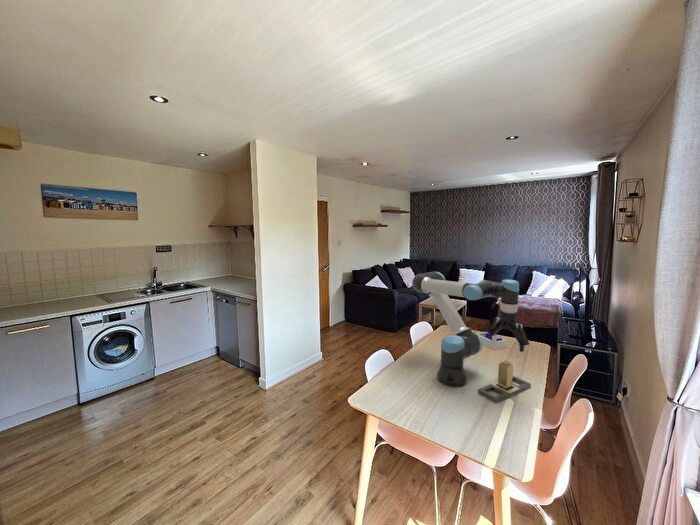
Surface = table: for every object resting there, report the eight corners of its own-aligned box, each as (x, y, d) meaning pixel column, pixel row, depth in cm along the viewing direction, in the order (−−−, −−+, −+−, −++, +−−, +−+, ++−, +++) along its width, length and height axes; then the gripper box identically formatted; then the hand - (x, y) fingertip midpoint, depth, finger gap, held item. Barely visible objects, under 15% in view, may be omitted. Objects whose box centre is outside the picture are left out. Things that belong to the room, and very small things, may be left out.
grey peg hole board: (496, 403, 137) (496, 399, 137) (478, 393, 146) (478, 389, 146) (530, 387, 151) (530, 383, 151) (511, 378, 160) (512, 374, 159)
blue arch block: (483, 341, 213) (484, 333, 212) (488, 340, 214) (489, 332, 213) (496, 347, 201) (496, 339, 201) (501, 346, 203) (502, 338, 202)
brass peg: (506, 393, 145) (507, 365, 144) (497, 389, 149) (498, 361, 148) (511, 391, 148) (513, 363, 146) (503, 386, 152) (504, 359, 150)
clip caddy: (494, 349, 198) (494, 342, 198) (474, 340, 215) (475, 333, 215) (505, 347, 201) (505, 340, 201) (485, 338, 218) (485, 331, 218)
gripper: (539, 316, 135) (536, 360, 137) (490, 304, 156) (488, 342, 159) (530, 319, 131) (526, 363, 134) (481, 306, 153) (479, 344, 156)
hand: (506, 352), depth 147 cm, fingers open, 13 cm apart
